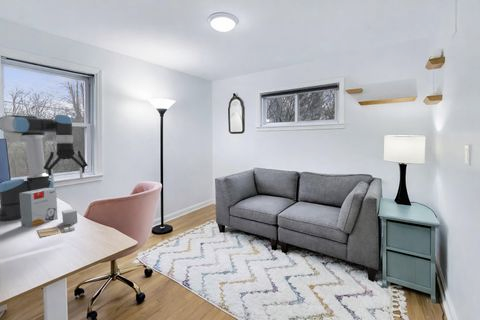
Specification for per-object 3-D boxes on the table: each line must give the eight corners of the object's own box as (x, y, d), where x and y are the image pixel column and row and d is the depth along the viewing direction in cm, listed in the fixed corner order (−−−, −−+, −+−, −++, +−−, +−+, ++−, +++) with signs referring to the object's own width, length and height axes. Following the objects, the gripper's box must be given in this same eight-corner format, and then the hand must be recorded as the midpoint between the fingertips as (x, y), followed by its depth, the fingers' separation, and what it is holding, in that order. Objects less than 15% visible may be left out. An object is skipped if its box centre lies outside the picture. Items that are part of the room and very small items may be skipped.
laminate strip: (57, 228, 132) (56, 226, 132) (70, 226, 137) (69, 223, 137) (61, 235, 124) (61, 232, 124) (75, 232, 128) (75, 229, 128)
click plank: (37, 232, 126) (37, 230, 126) (56, 229, 132) (56, 226, 132) (40, 239, 118) (40, 236, 118) (60, 235, 123) (60, 233, 123)
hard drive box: (32, 229, 132) (29, 193, 130) (20, 228, 133) (17, 193, 131) (58, 220, 147) (56, 187, 145) (48, 219, 148) (46, 187, 146)
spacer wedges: (64, 230, 126) (63, 228, 126) (73, 228, 129) (73, 226, 129) (64, 231, 125) (64, 229, 125) (74, 229, 128) (74, 227, 128)
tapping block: (62, 224, 139) (62, 211, 139) (75, 221, 144) (74, 208, 143) (65, 227, 135) (64, 213, 134) (77, 224, 139) (76, 210, 139)
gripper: (36, 143, 124) (40, 183, 125) (92, 142, 141) (94, 178, 143) (35, 143, 129) (38, 182, 131) (88, 142, 147) (90, 176, 148)
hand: (67, 180), depth 137 cm, fingers open, 13 cm apart
